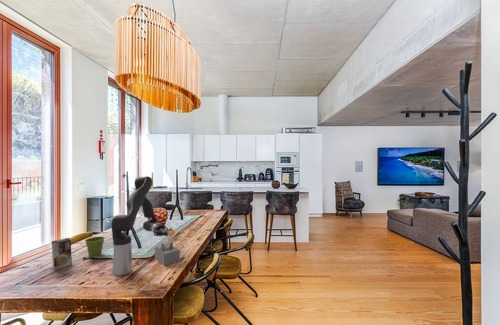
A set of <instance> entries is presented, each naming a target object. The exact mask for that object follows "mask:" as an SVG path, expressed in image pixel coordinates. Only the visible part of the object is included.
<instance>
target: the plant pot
mask: <svg viewBox="0 0 500 325" xmlns="http://www.w3.org/2000/svg"><path fill="white" fill-rule="evenodd" d="M104 239H106V237H105V236H94V237H89V238H86V239H84V242H85V244H86V248H87V252H88V257H91V258H92V257H93V258H95V257H94V256H96V257H98V255H99V256H101V255H102V251H103V244H104V241H105V240H104ZM100 254H101V255H100Z"/></svg>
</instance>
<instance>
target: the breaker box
mask: <svg viewBox="0 0 500 325" xmlns="http://www.w3.org/2000/svg"><path fill="white" fill-rule="evenodd" d="M173 244H174V243H173V241H171V244H170V247H169V248H164V245H165V243H160V246H157V247H154V254H155V255H154V258H155V260H157V261H158V262H159V264H162V265H163V266H164V267H166V266H169V265H173V264H176V263H179V262H181V254H180V252H181V251H180V250H179V249H178V248H176V247H175V246H174V245H173Z"/></svg>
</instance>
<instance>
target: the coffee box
mask: <svg viewBox="0 0 500 325" xmlns="http://www.w3.org/2000/svg"><path fill="white" fill-rule="evenodd" d="M71 241H72V240H71V238H69V237H66V238H60V239H56V240H52V241H51V255H52V268H53V270H57V269H62V268H66V267H68V266H72V265H73V261H72V258H73V257H72V256H73V255H72V242H71Z"/></svg>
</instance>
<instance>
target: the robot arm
mask: <svg viewBox="0 0 500 325" xmlns="http://www.w3.org/2000/svg"><path fill="white" fill-rule="evenodd" d="M134 187H135V190H134V191H133V192H131V194H130V195H129V196H128V198H127V200H126V207H127V209H128V211H129V213H128V214H119V215H114V216H113V217H112V220H111V236H112V242H113V256H112V274H114V275H115V276H118V277H119V276H120V277H121V276H126V275H129V274H131V273H132V272H133V257H132V256H133V254H132V237H131V236H130V235H127V234H126V233H124V232H129V231H131V230H132V229H133V228H134V224H135V222H136V220H137V216H138V214H139V211H140V209H141V207H142V213H143V216H144V218H147V219H148V220H144V222H143V223H142V227H143V230H144V231H146V232H152V233H153V236H154V237H163V236H165V237H167V236H168V231H169V230H173V227H170V228H167V227H166V225H164V224H162V223H160V222H159V221H158V219H157V217H156V214H155V212H154V207H153V204H152V202H151V201H150V200H149V198H148V197H147V195H148V193H149V191H150V190H151V189H152V187H153V179H152V177H151V176H140V177H136V178H135V179H134ZM149 218H151V219H149Z"/></svg>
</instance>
